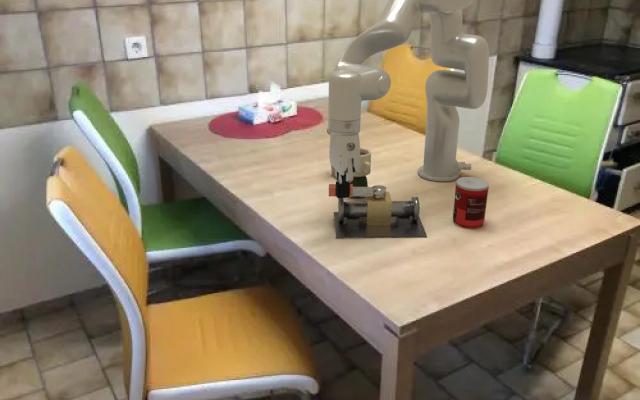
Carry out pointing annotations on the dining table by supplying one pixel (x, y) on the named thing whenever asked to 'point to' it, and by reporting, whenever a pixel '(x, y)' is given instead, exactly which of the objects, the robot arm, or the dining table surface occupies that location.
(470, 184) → the canned food
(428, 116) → the robot arm
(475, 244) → the dining table surface
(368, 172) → the character mug
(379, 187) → the lever
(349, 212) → the valve
